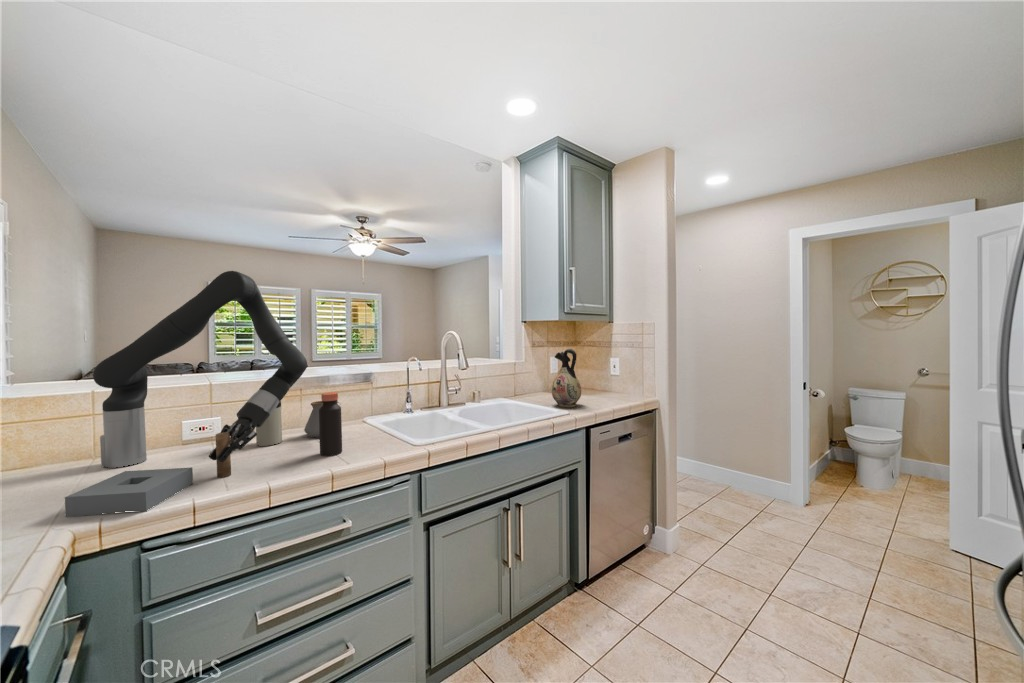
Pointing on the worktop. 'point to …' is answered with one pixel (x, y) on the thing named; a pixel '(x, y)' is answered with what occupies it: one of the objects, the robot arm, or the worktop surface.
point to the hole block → (128, 491)
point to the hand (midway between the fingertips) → (215, 459)
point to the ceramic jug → (566, 382)
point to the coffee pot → (314, 420)
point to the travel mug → (270, 429)
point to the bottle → (330, 425)
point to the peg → (221, 443)
